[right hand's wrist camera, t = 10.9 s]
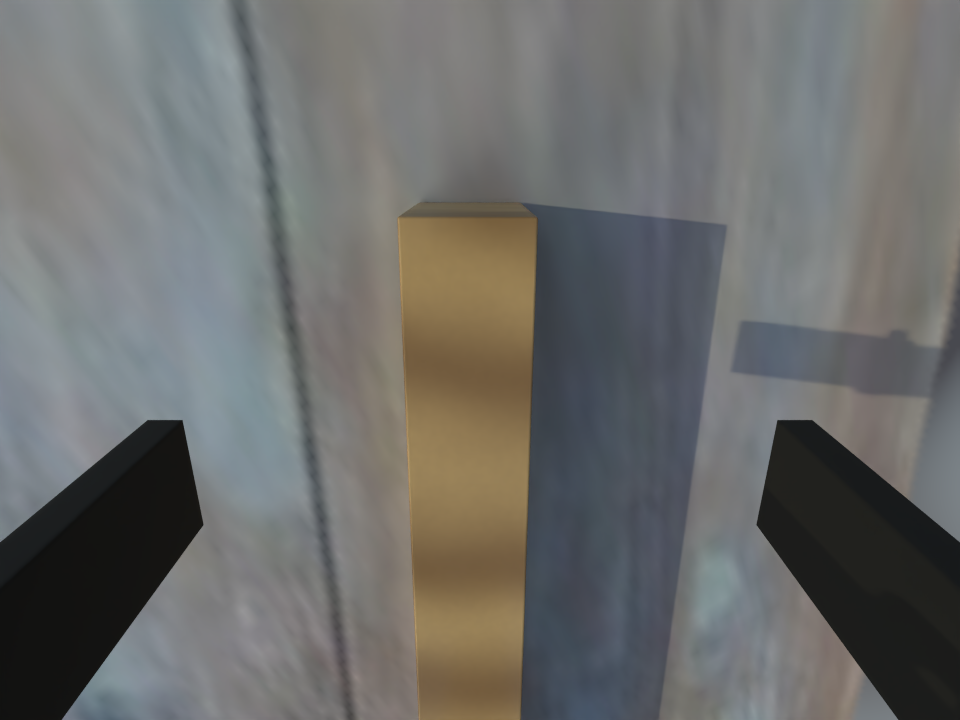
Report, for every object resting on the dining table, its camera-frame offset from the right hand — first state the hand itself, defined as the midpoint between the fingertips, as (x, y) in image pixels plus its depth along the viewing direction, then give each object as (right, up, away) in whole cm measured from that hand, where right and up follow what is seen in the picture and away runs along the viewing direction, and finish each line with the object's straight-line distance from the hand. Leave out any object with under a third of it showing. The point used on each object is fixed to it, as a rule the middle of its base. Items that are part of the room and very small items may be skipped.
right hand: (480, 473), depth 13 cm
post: (0, -19, +23) cm, 30 cm away
